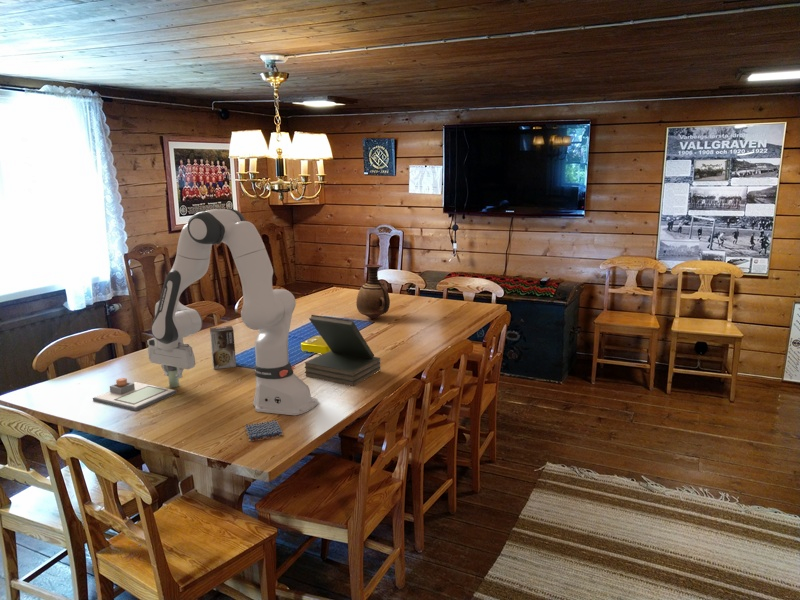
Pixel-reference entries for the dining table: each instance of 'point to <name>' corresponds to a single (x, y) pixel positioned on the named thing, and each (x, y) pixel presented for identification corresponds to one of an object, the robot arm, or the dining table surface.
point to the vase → (373, 295)
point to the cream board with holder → (134, 395)
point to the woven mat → (263, 430)
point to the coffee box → (223, 347)
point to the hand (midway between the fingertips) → (173, 376)
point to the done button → (121, 382)
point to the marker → (173, 376)
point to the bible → (341, 353)
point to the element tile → (315, 345)
